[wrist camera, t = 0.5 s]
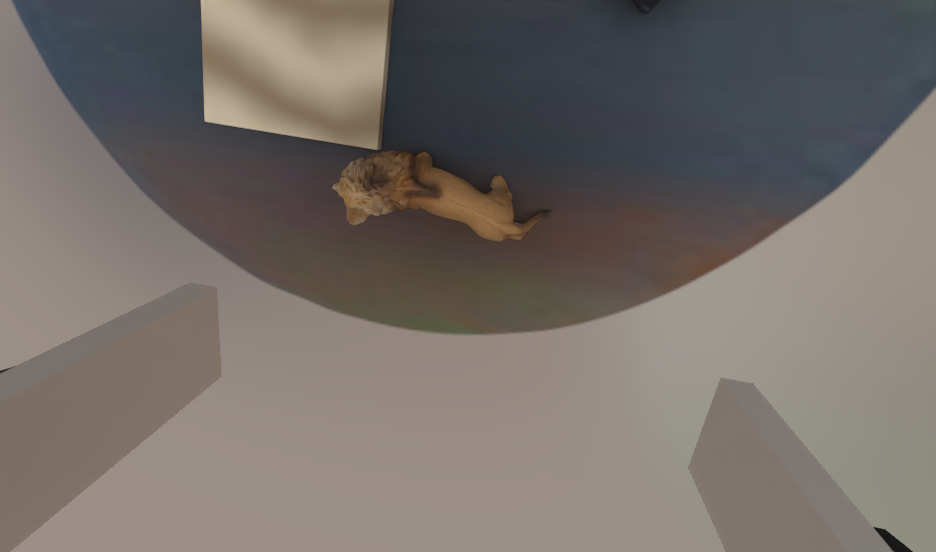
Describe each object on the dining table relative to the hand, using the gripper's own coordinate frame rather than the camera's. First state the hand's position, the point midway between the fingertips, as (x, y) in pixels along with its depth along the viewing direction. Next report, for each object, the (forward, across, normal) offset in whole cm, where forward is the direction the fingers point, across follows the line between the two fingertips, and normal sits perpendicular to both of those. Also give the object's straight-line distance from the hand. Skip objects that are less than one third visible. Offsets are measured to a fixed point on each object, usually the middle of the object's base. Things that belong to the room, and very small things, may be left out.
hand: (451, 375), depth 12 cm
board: (+26, -17, +13) cm, 34 cm away
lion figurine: (+26, -4, 0) cm, 26 cm away
